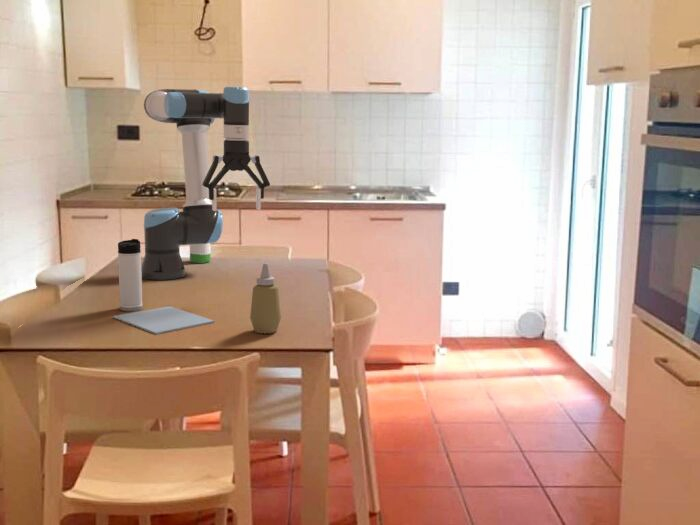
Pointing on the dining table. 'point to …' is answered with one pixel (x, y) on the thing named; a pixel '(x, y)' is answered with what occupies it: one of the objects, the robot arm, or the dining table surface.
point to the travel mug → (130, 275)
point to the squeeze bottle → (265, 304)
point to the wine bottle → (200, 253)
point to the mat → (163, 319)
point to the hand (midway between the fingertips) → (236, 210)
